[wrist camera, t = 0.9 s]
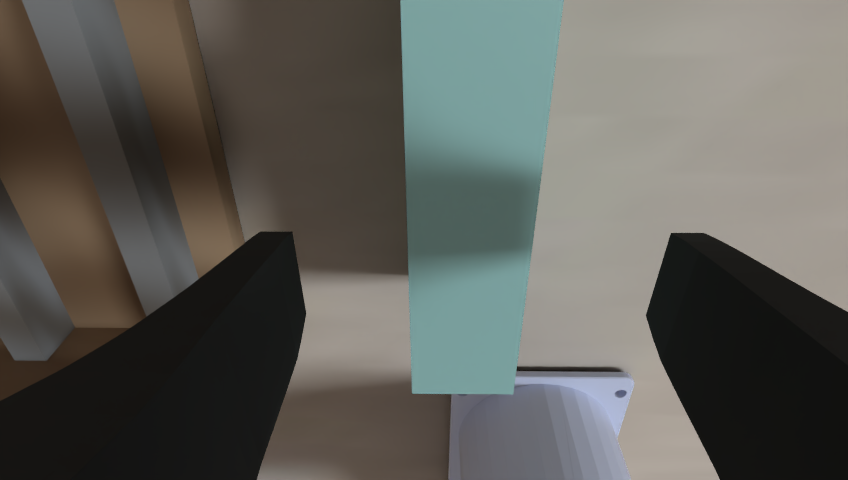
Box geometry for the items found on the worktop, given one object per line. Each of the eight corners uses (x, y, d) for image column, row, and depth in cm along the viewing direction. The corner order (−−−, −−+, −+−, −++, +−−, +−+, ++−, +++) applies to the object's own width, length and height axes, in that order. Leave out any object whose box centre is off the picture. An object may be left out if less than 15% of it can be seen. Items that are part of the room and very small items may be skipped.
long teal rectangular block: (493, 273, 20) (513, 394, 15) (417, 273, 20) (412, 393, 15) (522, -87, 14) (574, -87, 9) (410, -86, 14) (397, -86, 9)
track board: (267, 340, 22) (228, 441, 18) (38, 338, 22) (-54, 438, 18) (126, -265, 12) (-43, -363, 8) (-297, -260, 12) (-693, -353, 8)
